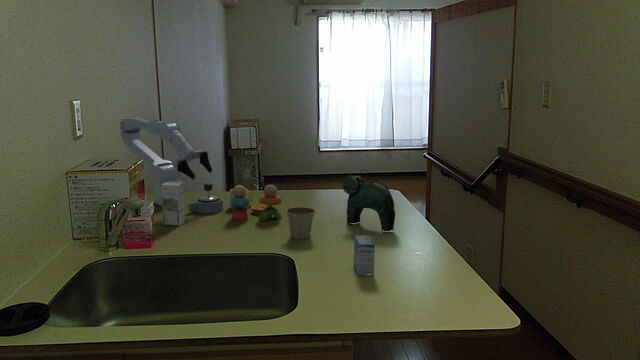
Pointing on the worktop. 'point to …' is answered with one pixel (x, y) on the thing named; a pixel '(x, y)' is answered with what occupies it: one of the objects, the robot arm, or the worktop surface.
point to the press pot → (206, 206)
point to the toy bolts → (263, 210)
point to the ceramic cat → (369, 200)
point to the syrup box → (173, 203)
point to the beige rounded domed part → (248, 195)
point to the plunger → (208, 193)
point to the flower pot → (300, 221)
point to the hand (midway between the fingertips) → (202, 174)
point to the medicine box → (364, 255)
